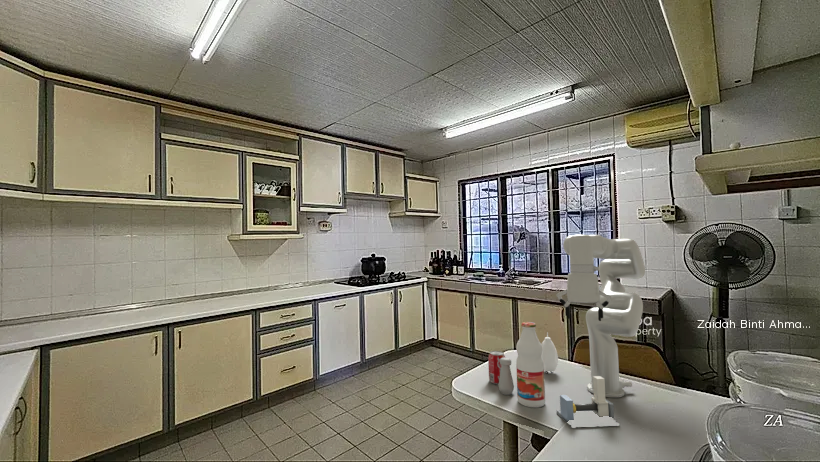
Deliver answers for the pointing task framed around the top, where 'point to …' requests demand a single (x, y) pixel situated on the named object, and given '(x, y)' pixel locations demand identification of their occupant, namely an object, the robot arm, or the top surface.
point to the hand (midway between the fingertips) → (584, 319)
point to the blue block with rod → (578, 408)
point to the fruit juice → (530, 368)
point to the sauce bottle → (549, 355)
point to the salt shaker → (505, 377)
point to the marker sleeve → (600, 396)
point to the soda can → (495, 366)
